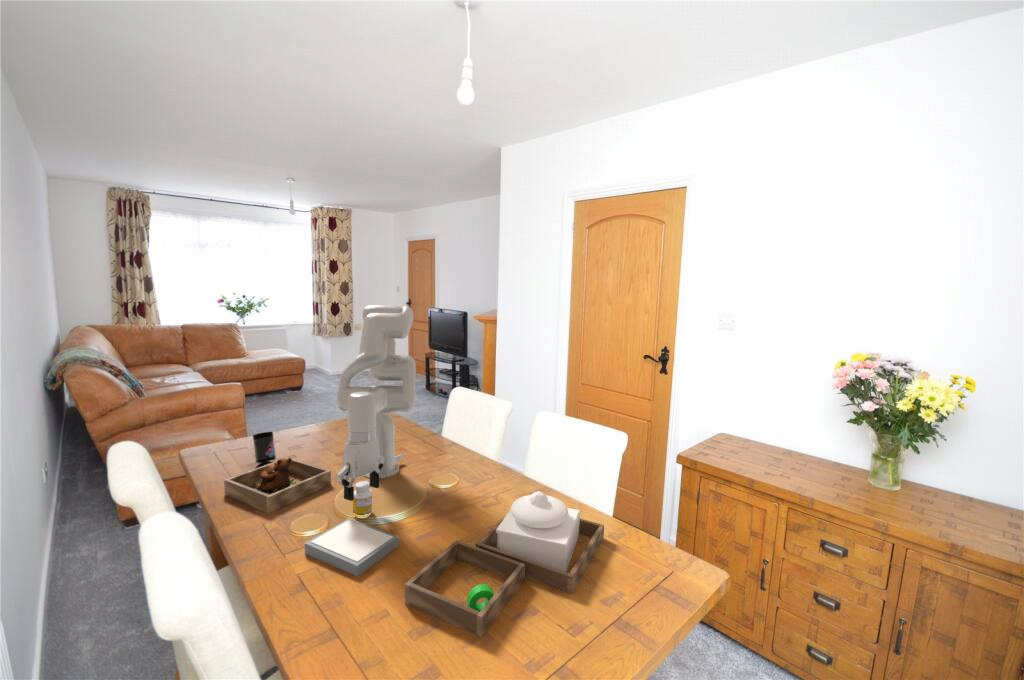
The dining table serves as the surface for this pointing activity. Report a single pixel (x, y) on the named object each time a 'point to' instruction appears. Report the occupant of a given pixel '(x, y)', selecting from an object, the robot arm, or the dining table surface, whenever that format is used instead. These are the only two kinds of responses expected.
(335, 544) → the plinth
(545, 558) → the butter dish
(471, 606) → the mechanical part
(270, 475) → the bear figurine
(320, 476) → the brown wooden tray
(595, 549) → the dish tray frame
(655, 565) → the dining table surface
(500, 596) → the tray
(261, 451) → the supplement container
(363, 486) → the supplement bottle
